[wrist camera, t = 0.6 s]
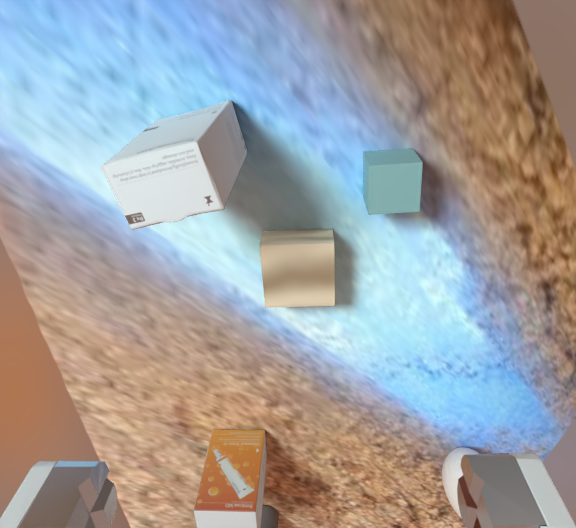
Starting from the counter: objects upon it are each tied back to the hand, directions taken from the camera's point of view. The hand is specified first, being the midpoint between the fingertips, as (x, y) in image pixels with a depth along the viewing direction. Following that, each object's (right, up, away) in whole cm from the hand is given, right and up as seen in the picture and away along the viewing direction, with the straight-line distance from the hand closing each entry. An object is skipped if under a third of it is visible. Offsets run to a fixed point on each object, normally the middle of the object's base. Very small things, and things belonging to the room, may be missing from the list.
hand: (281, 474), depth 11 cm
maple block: (+1, +5, +44) cm, 44 cm away
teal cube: (+11, +14, +38) cm, 42 cm away
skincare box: (-9, +18, +37) cm, 42 cm away
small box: (-7, -22, +60) cm, 64 cm away
